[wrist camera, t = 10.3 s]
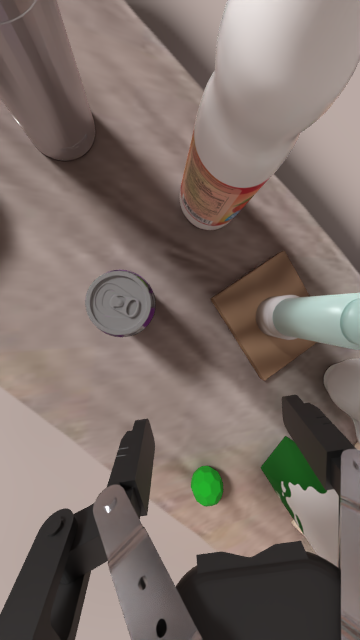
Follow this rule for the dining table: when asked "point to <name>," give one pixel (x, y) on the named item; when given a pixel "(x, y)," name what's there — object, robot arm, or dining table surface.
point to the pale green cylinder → (321, 319)
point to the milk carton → (305, 498)
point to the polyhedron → (207, 486)
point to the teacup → (345, 388)
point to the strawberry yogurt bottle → (264, 97)
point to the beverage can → (120, 303)
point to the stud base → (245, 314)
